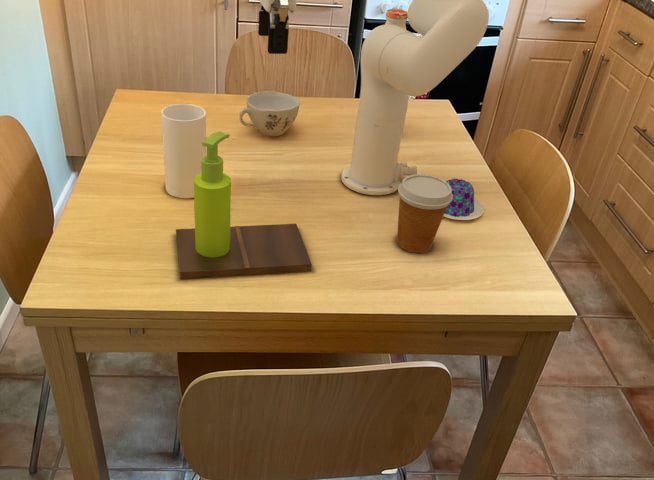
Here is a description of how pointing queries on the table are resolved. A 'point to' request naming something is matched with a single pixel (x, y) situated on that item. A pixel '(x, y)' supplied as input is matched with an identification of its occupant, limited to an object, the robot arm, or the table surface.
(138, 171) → the table surface
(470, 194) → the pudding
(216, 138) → the soap dispenser
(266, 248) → the walnut board
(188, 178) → the cup
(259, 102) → the teacup
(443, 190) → the disposable coffee cup
